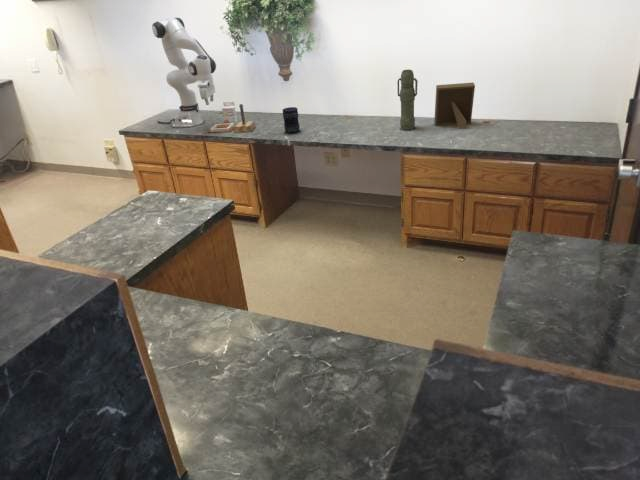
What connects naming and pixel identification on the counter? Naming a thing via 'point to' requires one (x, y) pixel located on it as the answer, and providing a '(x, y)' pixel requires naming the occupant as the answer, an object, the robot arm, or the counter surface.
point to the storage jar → (291, 120)
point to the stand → (244, 123)
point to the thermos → (407, 99)
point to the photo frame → (454, 104)
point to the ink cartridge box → (229, 113)
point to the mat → (222, 131)
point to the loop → (228, 125)
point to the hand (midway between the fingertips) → (209, 102)
